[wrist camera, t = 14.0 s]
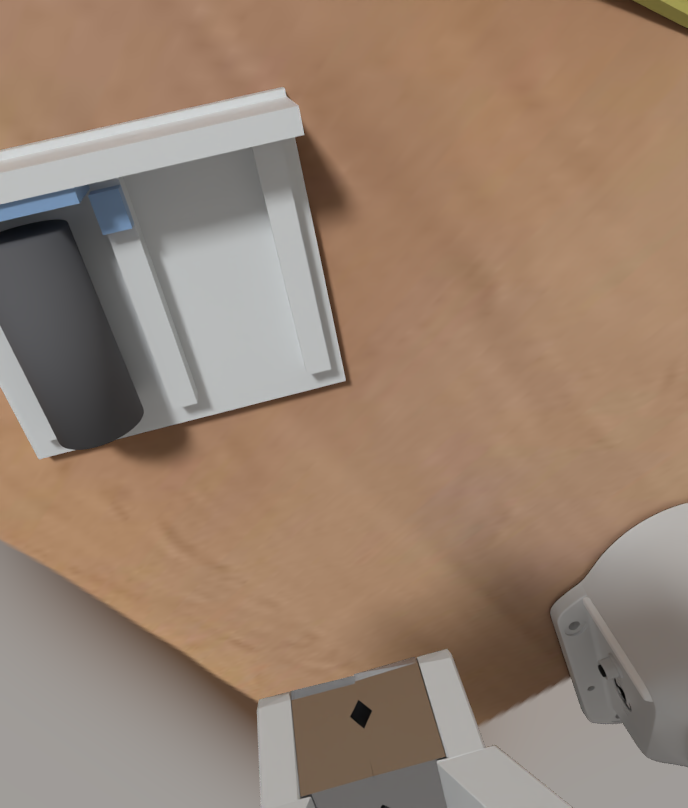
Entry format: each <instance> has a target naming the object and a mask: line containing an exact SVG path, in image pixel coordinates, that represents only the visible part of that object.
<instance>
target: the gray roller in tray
mask: <svg viewBox="0 0 688 808" xmlns="http://www.w3.org/2000/svg"><path fill="white" fill-rule="evenodd" d="M0 326H1V328H2V330H3V332H4V334H5V336H6V338H7V340H8V342H9V344H10V346H11V348H12V350H13V352H14V354H15V356H16V358H17V360H18V362H19V364H20V366H21V368H22V370H23V372H24V374H25V376H26V378H27V380H28V382H29V384H30V386H31V388H32V390H33V392H34V394H35V396H36V398H37V400H38V402H39V404H40V406H41V408H42V410H43V412H44V414H45V416H46V418H47V420H48V422H49V424H50V426H51V428H52V430H53V432H54V434H55V436H56V438H57V440H58V442H59V444H60V445H61V446H62V447H64V448H67V449H72V450H82V449H90V448H94V447H98V446H101V445H104V444H107V443H109V442H112V441H114V440H116V439H118V438H120V437H122V436H123V435H125V434H126V433H128V432H129V431H131V430H132V429H133V428H134V427H135V426H136V425H137V424H138V423H139V422H140V421H141V419H142V417H143V414H144V409H143V406H142V404H141V401H140V399H139V396H138V394H137V392H136V389H135V387H134V384H133V382H132V379H131V377H130V374H129V372H128V369H127V367H126V364H125V362H124V360H123V357H122V355H121V352H120V350H119V347H118V345H117V342H116V340H115V337H114V335H113V332H112V330H111V327H110V325H109V323H108V320H107V318H106V315H105V313H104V310H103V308H102V305H101V303H100V300H99V298H98V295H97V293H96V291H95V288H94V286H93V283H92V281H91V278H90V276H89V273H88V271H87V268H86V266H85V263H84V261H83V259H82V256H81V254H80V251H79V249H78V246H77V244H76V241H75V239H74V236H73V234H72V231H71V229H70V226H69V224H68V222H67V221H66V220H60V219H55V220H45V221H39V222H34V223H30V224H25V225H21V226H17V227H14V228H11V229H7V230H4V231H1V232H0Z"/></svg>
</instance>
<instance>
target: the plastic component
mask: <svg viewBox="0 0 688 808" xmlns="http://www.w3.org/2000/svg"><path fill="white" fill-rule="evenodd" d="M633 1H635V2H637V3H639V4H641V5H643V6H645V7H647V8H649V9H651V10H653V11H655V12H657V13H658V14H660V15H662V16H664V17H666V18H668V19H670V20H672V21H674V22H676V23H678V24H680V25H682V26H684V27H686V28H688V0H633Z"/></svg>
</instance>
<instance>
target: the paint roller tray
mask: <svg viewBox="0 0 688 808" xmlns="http://www.w3.org/2000/svg"><path fill="white" fill-rule="evenodd" d="M301 135H304V130H303V125H302V120H301V115H300V111H299V106H298V105H297V104H296V103H294V102H293V101H292V100H291V99H289V98H288V97H287V96H286V92H285V88H284V87H280V88H275V89H271V90H266V91H262V92H258V93H253V94H249V95H244V96H240V97H235V98H231V99H226V100H222V101H217V102H213V103H208V104H204V105H199V106H195V107H190V108H186V109H181V110H177V111H173V112H168V113H164V114H159V115H155V116H150V117H146V118H141V119H137V120H132V121H128V122H123V123H119V124H114V125H110V126H105V127H101V128H96V129H92V130H88V131H83V132H79V133H74V134H70V135H65V136H61V137H56V138H52V139H47V140H43V141H38V142H34V143H29V144H25V145H20V146H16V147H11V148H7V149H2V150H0V232H1V231H4V230H7V229H11V228H14V227H17V226H21V225H25V224H30V223H34V222H39V221H45V220H55V219H60V220H66V221H67V222H68V224H69V226H70V229H71V231H72V234H73V236H74V239H75V241H76V244H77V246H78V249H79V251H80V254H81V256H82V259H83V261H84V263H85V266H86V268H87V271H88V273H89V276H90V278H91V281H92V283H93V286H94V288H95V291H96V293H97V295H98V298H99V300H100V303H101V305H102V308H103V310H104V313H105V315H106V318H107V320H108V323H109V325H110V327H111V330H112V332H113V335H114V337H115V340H116V342H117V345H118V347H119V350H120V352H121V355H122V357H123V360H124V362H125V364H126V367H127V369H128V372H129V374H130V377H131V379H132V382H133V384H134V387H135V389H136V392H137V394H138V396H139V399H140V401H141V404H142V406H143V409H144V414H143V417H142V419H141V421H140V422H139V423H138V424H137V425H136V426H135V427H134V428H133V429H132V430H131V431H129V432H128V433H126V434H125V435H123V436H122V437H120V438H124V437H128V436H132V435H136V434H140V433H144V432H148V431H152V430H155V429H159V428H163V427H167V426H171V425H175V424H179V423H183V422H187V421H191V420H194V419H198V418H202V417H206V416H210V415H214V414H218V413H222V412H226V411H230V410H234V409H237V408H241V407H245V406H249V405H253V404H257V403H261V402H265V401H269V400H273V399H277V398H280V397H284V396H288V395H292V394H296V393H300V392H304V391H308V390H312V389H316V388H319V387H323V386H327V385H331V384H335V383H339V382H343V381H346V379H345V374H344V369H343V364H342V360H341V355H340V350H339V345H338V341H337V336H336V331H335V326H334V321H333V317H332V312H331V307H330V302H329V298H328V293H327V288H326V283H325V278H324V274H323V269H322V264H321V259H320V255H319V250H318V245H317V240H316V235H315V231H314V226H313V221H312V216H311V212H310V207H309V202H308V197H307V193H306V188H305V183H304V178H303V173H302V169H301V164H300V159H299V154H298V150H297V145H296V140H295V137H297V136H301ZM0 387H1V389H2V391H3V393H4V394H5V396H6V398H7V400H8V402H9V404H10V406H11V408H12V410H13V411H14V413H15V415H16V417H17V419H18V421H19V423H20V425H21V427H22V429H23V430H24V432H25V434H26V436H27V438H28V440H29V442H30V444H31V446H32V447H33V449H34V451H35V453H36V455H37V457H38V459H42V458H46V457H50V456H54V455H58V454H62V453H66V452H69V451H73V450H72V449H67V448H64V447H62V446H61V445H60V444H59V442H58V440H57V438H56V436H55V434H54V432H53V430H52V428H51V426H50V424H49V422H48V420H47V418H46V416H45V414H44V412H43V410H42V408H41V406H40V404H39V402H38V400H37V398H36V396H35V394H34V392H33V390H32V388H31V386H30V384H29V382H28V380H27V378H26V376H25V374H24V372H23V370H22V368H21V366H20V364H19V362H18V360H17V358H16V356H15V354H14V352H13V350H12V348H11V346H10V344H9V342H8V340H7V338H6V336H5V334H4V332H3V330H2V328H1V326H0ZM120 438H118V439H120Z"/></svg>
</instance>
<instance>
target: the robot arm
mask: <svg viewBox="0 0 688 808" xmlns="http://www.w3.org/2000/svg"><path fill="white" fill-rule="evenodd" d="M550 615H551V619H552V622H553V625H554V628H555V631H556V634H557V637H558V640H559V643H560V646H561V649H562V652H563V655H564V658H565V661H566V664H567V667H568V670H569V673H570V676H571V679H572V682H573V685H574V688H575V691H576V694H577V697H578V700H579V703H580V706H581V709H582V711H583V713H584V714H585V716H586V717H587V719H588V720H589V721H590V722H592V723H600V724H618V723H623V724H624V726H625V727H626V729H627V731H628V732H629V734H630V735H631V737H632V738H633V740H634V741H635V743H636V745H637V746H638V747H639V749H640V750H641V751H642V753H643V754H644V755H645V756H646V757H648V758H650V759H652V760H655V761H658V762H662V763H669V764H675V765H680V766H686V767H688V503H685V504H681V505H678V506H675V507H672V508H669V509H667V510H664V511H662V512H660V513H658V514H656V515H653V516H652V517H650V518H648V519H646V520H644V521H643V522H641V523H639V524H638V525H636V526H635V527H633V528H632V529H630V530H629V531H628V532H626V533H625V534H624V535H622V536H621V537H620V538H619V539H618V540H617V541H615V542H614V543H613V544H612V545H611V546H610V547H609V548H608V549H607V550H606V551H605V552H604V554H603V555H602V556H601V557H600V558H599V560H598V561H597V562H596V564H595V565H594V566H593V568H592V569H591V570H590V572H589V573H588V574H587V576H586V577H585V578H584V579H583V580H582V581H581V582H580V583H579V584H578V585H576V586H575V587H574V588H572V589H571V590H570V591H568V592H567V593H566V594H564V595H563V596H562V597H561V598H560V599H558V600H557V601H556V602H555V604H554V605H553V606H552V608H551V611H550ZM257 723H258V747H259V748H258V749H259V774H260V796H261V797H260V799H261V808H573V807H572V806H570V805H569V804H568V803H567V802H566V801H564V800H563V799H562V798H561V797H559V796H558V795H557V794H556V793H554V792H553V791H552V790H551V789H549V788H548V787H547V786H546V785H544V784H543V783H542V782H541V781H539V780H538V779H537V778H536V777H534V776H533V775H532V774H531V773H530V772H528V771H527V770H526V769H525V768H523V767H522V766H521V765H520V764H518V763H517V762H516V761H515V760H513V759H512V758H511V757H510V756H508V755H507V754H506V753H505V752H503V751H502V750H501V749H500V748H499V747H497V746H496V745H493V746H488V747H485V744H484V741H483V739H482V736H481V733H480V731H479V728H478V725H477V722H476V720H475V717H474V714H473V711H472V709H471V706H470V703H469V700H468V698H467V695H466V692H465V690H464V687H463V684H462V681H461V679H460V676H459V673H458V670H457V668H456V665H455V662H454V659H453V657H452V654H451V653H450V652H449V650H448V649H444V650H440V651H437V652H433V653H430V654H426V655H423V656H419V657H417V658H415V657H412V658H409V659H405V660H402V661H398V662H395V663H391V664H388V665H384V666H381V667H378V668H374V669H371V670H367V671H364V672H360V673H357V674H354V676H351V677H347V678H343V679H339V680H335V681H331V682H327V683H323V684H318V685H314V686H310V687H306V688H302V689H298V690H294V691H290V692H286V693H282V694H278V695H275V696H271V697H267V698H263V699H260V700H259V703H258V708H257Z"/></svg>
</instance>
